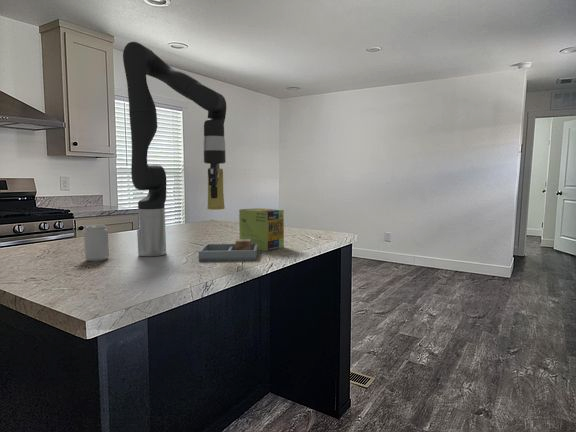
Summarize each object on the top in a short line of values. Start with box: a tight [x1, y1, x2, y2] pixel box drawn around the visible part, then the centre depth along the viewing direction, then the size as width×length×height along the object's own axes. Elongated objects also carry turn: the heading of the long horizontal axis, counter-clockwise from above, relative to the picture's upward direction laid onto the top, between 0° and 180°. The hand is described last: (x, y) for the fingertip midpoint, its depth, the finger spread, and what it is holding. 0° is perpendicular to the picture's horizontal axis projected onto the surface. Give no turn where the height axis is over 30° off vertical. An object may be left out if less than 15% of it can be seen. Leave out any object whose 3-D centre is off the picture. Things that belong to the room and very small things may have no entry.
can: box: [83, 224, 110, 262], centre depth 136 cm, size 8×8×12 cm
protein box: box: [238, 207, 285, 252], centre depth 158 cm, size 10×15×16 cm
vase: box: [207, 168, 225, 211], centre depth 138 cm, size 6×6×14 cm
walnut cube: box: [234, 238, 251, 250], centre depth 141 cm, size 5×5×5 cm
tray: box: [197, 243, 259, 262], centre depth 141 cm, size 20×15×3 cm
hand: (215, 197), depth 139 cm, fingers closed on vase, 5 cm apart
